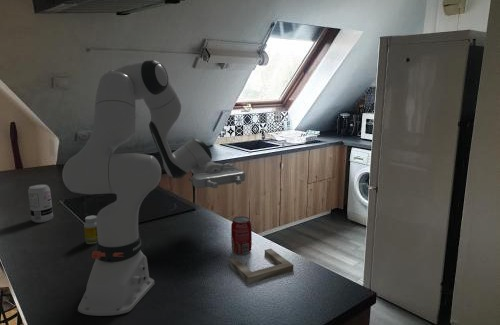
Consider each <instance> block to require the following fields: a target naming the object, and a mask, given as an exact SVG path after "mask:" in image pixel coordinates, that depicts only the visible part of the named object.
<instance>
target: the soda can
mask: <svg viewBox="0 0 500 325" xmlns="http://www.w3.org/2000/svg"><path fill="white" fill-rule="evenodd" d="M230 226H231V227H230V231H231V233H230V237H231V240H230V241H231V250H232V252H233V253H235V254H236V255H240V256H244V255H248V254H249V253H250V252H251V251H252V245H253V244H252V243H253V242H252V235H253V234H252V232H253V231H252V230H253V229H252V223H251V219H250V218H249V216H248V217H247V216H243V215H242V216H241V215H239V216H236V217H233V219H232V222H231V224H230Z"/></svg>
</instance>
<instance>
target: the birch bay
mask: <svg viewBox="0 0 500 325" xmlns="http://www.w3.org/2000/svg"><path fill="white" fill-rule="evenodd" d="M264 256H265V257H266V258H267V259H268V260H269V261H271V262H272V263H273V264H274V265H271V266H269V267H265V268H261V269H257V270H254V271H252V270H251V269H249V268H248V267H247V266H246V265H245V264H244V263H243V262H242V261H241V260H239V258H237V257H231V258H228V265H229V266H230V267H231V268H232V269H233V270H234V271H235V272H236V273H237V274H238V275H239V276H240V278H242V279H243V280H244V281H245V282H246V283H247V284H248V285H249V284H252V283H256V282H260V281H263V280H267V279H270V278H273V277H277V276H280V275H284V274H287V273H290V272H294V264H293V263H292V262H290V261H289V260H287V259H286V258H285V257H283V256H282V255H281V254H279V253H278V252H276V251H275V250H274V249H272V248H268V249H264Z"/></svg>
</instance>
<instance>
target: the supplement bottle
mask: <svg viewBox="0 0 500 325" xmlns="http://www.w3.org/2000/svg"><path fill="white" fill-rule="evenodd" d="M96 217H97V215H87V216H86V217H85V218H84V221H85V222H84V224H83V231H84V241H85V243H86V244H88V245H95V244H97V241H98V236H97V226H96Z"/></svg>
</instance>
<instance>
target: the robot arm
mask: <svg viewBox="0 0 500 325" xmlns="http://www.w3.org/2000/svg"><path fill="white" fill-rule="evenodd" d="M167 72H168V71H167V69H166V68H165V66H164V65H163V64H162V63H160V62H159V61H157V60H152V59H151V60H144V61H143V62H137V63H132V64H127V65H124V66H121V67H118V68H117V69H112V70H110V71H108V72H106V73H104V74H103V75H102V76H101V77H100V78H99V82H98V85H97V90H96V94H95V101H94V115H93V116H94V118H93V126H92V131H91V134H90V135H89V138H88V140H87V142H86V143H85V145H84V146H83V147H82V148H81V149H80V150H79V151H78V152H77V153H76V154H75V155H73V156H72V157H70V158H69V159H68V160H67V161H66V162H65V164H64V165H63V168H62V174H61V176H62V182H63V184H64V185H65V187H66V188H67V190H68V191H69V192H71V193H76V194H82V195H83V194H84V195H101V194H102V195H103V194H104V195H105V194H114V195H116V200H115V201H114V202H111V203H109V204H108V205H106V206H104V207H103V208H102V209H100V210H99V211H98V212H97V215H96V216H97V217H96V226H97V236H98V241H97V243H96V246H95V250H93V251H92V253H91V258H92V259H94V263H93V265H92V268H91V272H90V274H89V277H88V281H87V282H86V290H85V291H84V293H83V295H82V298H81V301H80V302H79V305H78V307H77V312H79V313H81V314H83V315H87V316H97V317H102V316H104V317H106V316H107V317H109V316H117V315H123V314H126V313H130V311H132V310H133V309H134V307H136V306H137V304H138V303H139V302H140V301H141V300H142V298H143V297H145V295H146V294H147V293H148V292H149V291H150V290H151V289H152V288H153V286H155V280H154V279H153V278H151V277H150V273H149V266H148V265H149V264H148V258H147V256H146V255H145V254H144V253H143V252H142V240H141V236H140V234H139V212H140V208H141V205H142V204H143V203H142V202H143V201H144V199H145V198H146V197H147V196H148V195H149V193H150V192H152V191H153V190H154V189H156V188H157V187H158V185H159V183H160V182H161V178H162V167H161V165H160V162H159V160H158V159H157V158H156V157H155V155H150V154H145V153H140V152H131V153H130V152H128V153H127V152H126V153H123V152H122V153H115V151H116V150H117V149H118V147H120V146H122V145H124V144H126V143H127V142H129V141H130V140H131V139H132V138H133V137H134V134H135V133H136V101H137V100H138V101H140V100H143V101H144V103H145V105H146V107H147V108H148V109H149V113H150V121H149V123H148V126H149V131H150V134H151V137H152V139H153V142H154V143H155V146H156V148H157V151H158V154H159V156H160V159H161V162H162V165H163V168H164V171H165V172H166V173H167V175H168V176H169V177H171V179H182V178H184V177H185V176H186V175H187V174H188V173H189V172H190V171H191V173H192V174H193V175H192V176H190V177H189V178H188V181H189V182H192V185H193V187H194V188H195V189H205V188H212V189H217V188H219V186H223V185H231V184H236V185H242V183H243V182H245V180H246V173H245V171H244V170H242V169H240V168H238V167H235V166H234V164H230V163H218V162H214V161H212V158H213V156H212V152H211V149H210V147H208V145H207V144H206V143H205V142H203V141H202V140H201V139H198V138H193V137H192V138H191V139H190V140H188V141H187V142H185V143H184V144H182V145H181V146H180V147H179V148H178V149H176V150H175V151H173V152H172V150H171V147H170V145H169V142H168V139H167V138H168V134H169V133H170V132H169V131H170V130H171V128H172V127H173V126H174V124H175V123H176V121H177V120H178V119H179V117H180V115H181V112H182V111H181V110H182V104H181V101H180V98H179V97H178V95H177V92H176V91H175V90H174V87H173V86H172V85H171V83H170V82H169V75H168V73H167Z"/></svg>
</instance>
